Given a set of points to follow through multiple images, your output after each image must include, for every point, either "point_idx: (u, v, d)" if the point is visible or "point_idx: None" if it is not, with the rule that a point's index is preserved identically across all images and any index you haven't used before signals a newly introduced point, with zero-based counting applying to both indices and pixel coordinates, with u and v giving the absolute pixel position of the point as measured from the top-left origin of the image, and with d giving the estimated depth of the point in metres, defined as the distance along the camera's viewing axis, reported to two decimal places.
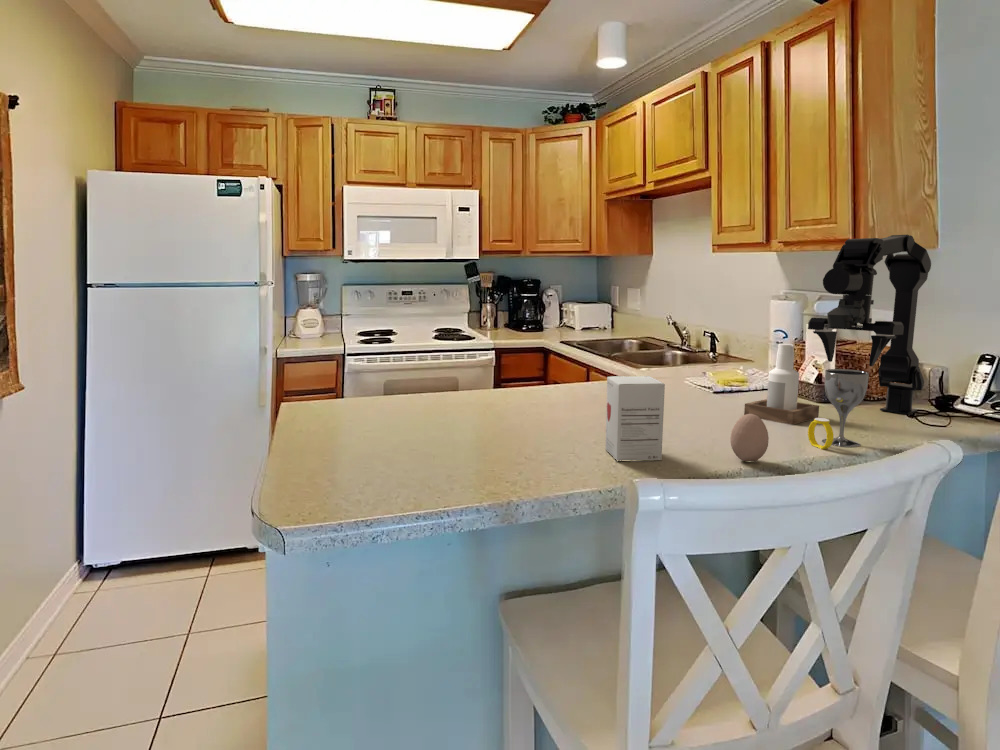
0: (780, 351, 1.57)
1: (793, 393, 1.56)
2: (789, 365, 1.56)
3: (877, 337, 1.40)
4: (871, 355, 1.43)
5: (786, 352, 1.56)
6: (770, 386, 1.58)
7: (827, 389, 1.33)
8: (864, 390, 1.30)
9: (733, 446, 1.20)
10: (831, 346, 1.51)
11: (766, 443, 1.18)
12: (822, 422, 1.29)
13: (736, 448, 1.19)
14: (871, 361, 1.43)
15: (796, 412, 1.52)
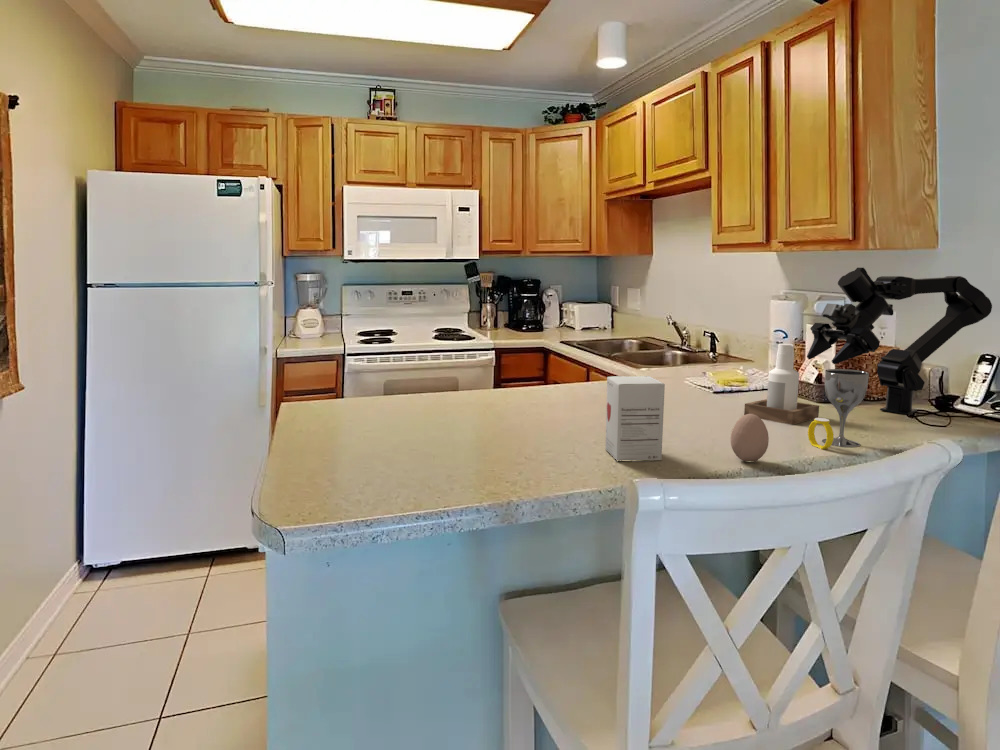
0: (780, 351, 1.57)
1: (793, 393, 1.56)
2: (789, 365, 1.56)
3: (850, 335, 1.53)
4: (838, 352, 1.55)
5: (786, 352, 1.56)
6: (770, 386, 1.58)
7: (827, 389, 1.33)
8: (864, 390, 1.30)
9: (733, 446, 1.20)
10: (818, 349, 1.64)
11: (766, 443, 1.18)
12: (822, 422, 1.29)
13: (736, 448, 1.19)
14: (835, 357, 1.55)
15: (796, 412, 1.52)
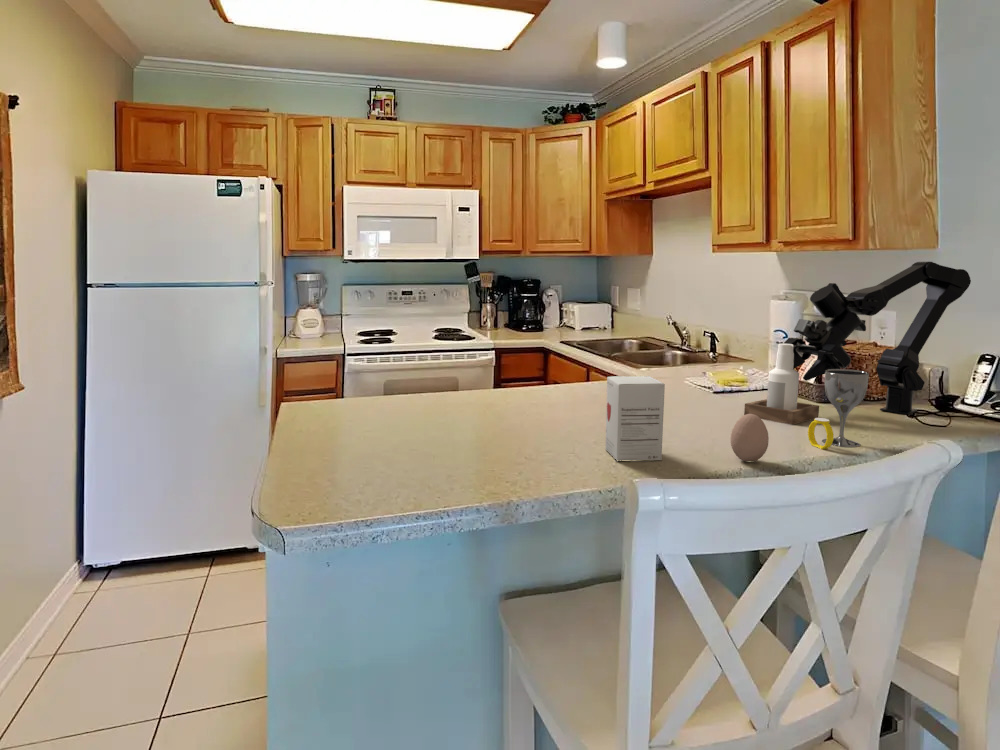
0: (780, 351, 1.57)
1: (793, 393, 1.56)
2: (789, 365, 1.56)
3: (821, 352, 1.52)
4: (809, 369, 1.54)
5: (786, 352, 1.56)
6: (770, 386, 1.58)
7: (827, 389, 1.33)
8: (864, 390, 1.30)
9: (733, 446, 1.20)
10: None
11: (766, 443, 1.18)
12: (822, 422, 1.29)
13: (736, 448, 1.19)
14: (806, 374, 1.54)
15: (796, 412, 1.52)
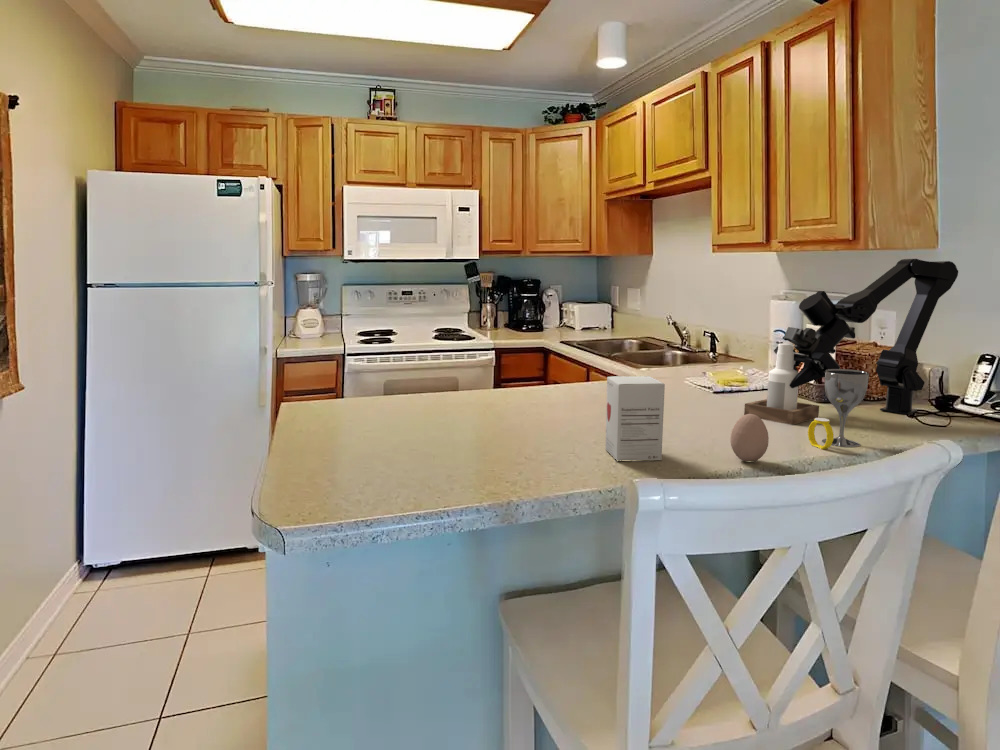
0: (780, 351, 1.57)
1: (793, 393, 1.56)
2: (789, 365, 1.56)
3: (807, 360, 1.53)
4: (796, 376, 1.55)
5: (786, 352, 1.56)
6: (770, 386, 1.58)
7: (827, 389, 1.33)
8: (864, 390, 1.30)
9: (733, 446, 1.20)
10: None
11: (766, 443, 1.18)
12: (822, 422, 1.29)
13: (736, 448, 1.19)
14: (792, 381, 1.55)
15: (796, 412, 1.52)
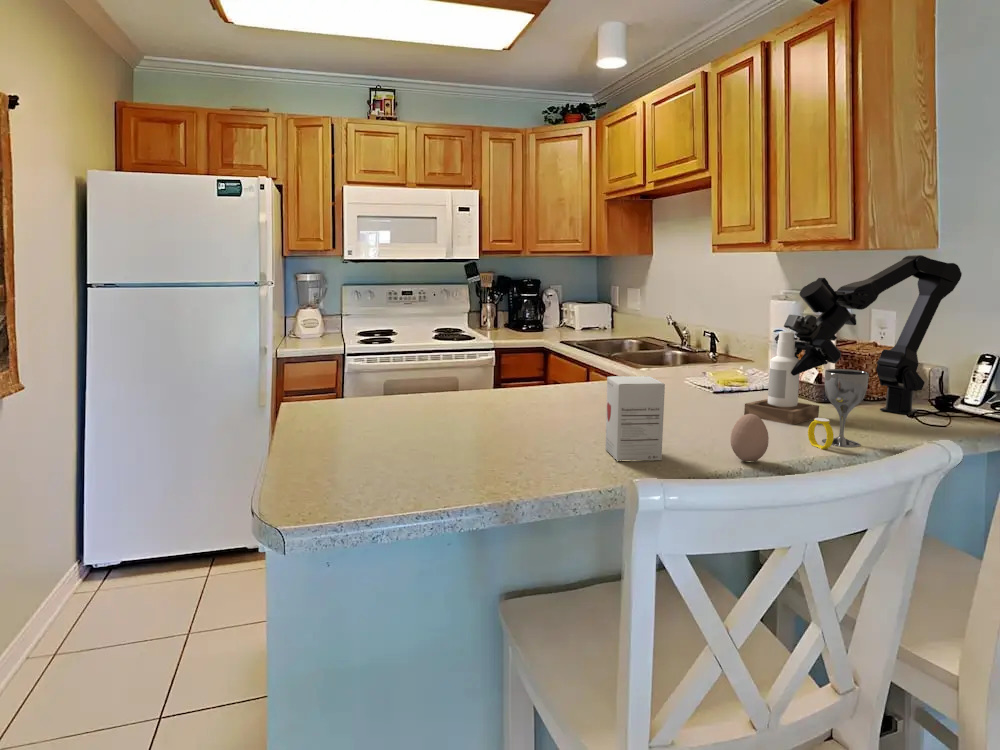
0: (781, 338, 1.56)
1: (795, 381, 1.55)
2: (790, 352, 1.55)
3: (809, 347, 1.52)
4: (797, 364, 1.54)
5: (787, 339, 1.55)
6: (771, 374, 1.58)
7: (827, 389, 1.33)
8: (864, 390, 1.30)
9: (733, 446, 1.20)
10: None
11: (766, 443, 1.18)
12: (822, 422, 1.29)
13: (736, 448, 1.19)
14: (794, 369, 1.54)
15: (796, 412, 1.52)
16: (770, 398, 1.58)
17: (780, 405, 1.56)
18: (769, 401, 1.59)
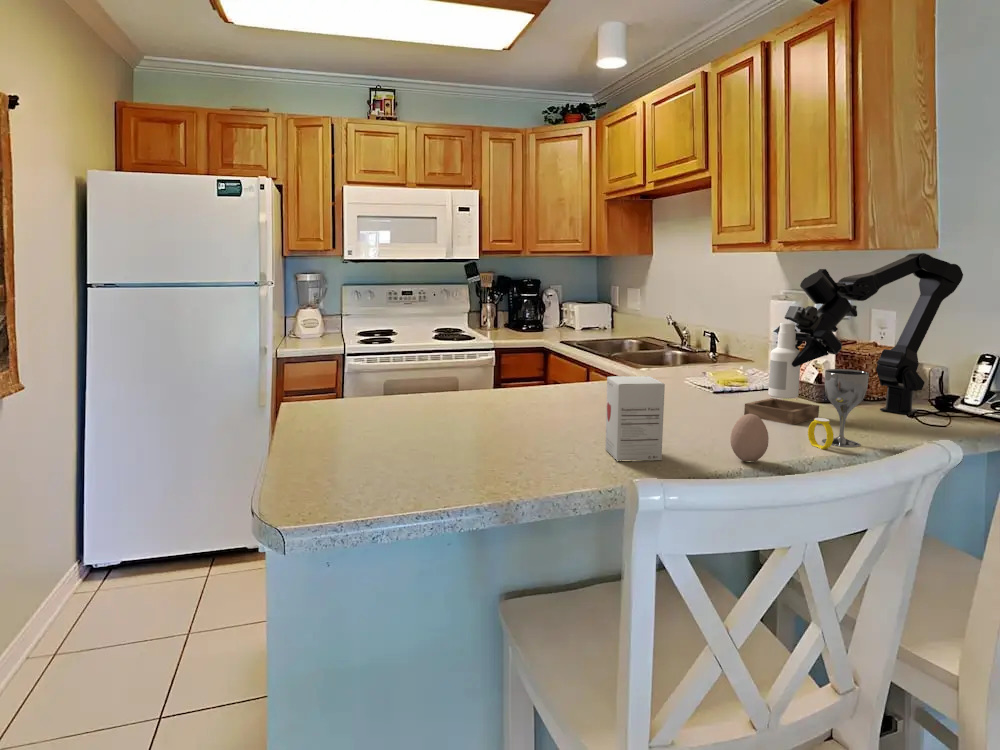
0: (782, 330, 1.56)
1: (795, 372, 1.55)
2: (791, 344, 1.55)
3: (809, 338, 1.52)
4: (798, 355, 1.54)
5: (788, 331, 1.55)
6: (772, 365, 1.57)
7: (827, 389, 1.33)
8: (864, 390, 1.30)
9: (733, 446, 1.20)
10: None
11: (766, 443, 1.18)
12: (822, 422, 1.29)
13: (736, 448, 1.19)
14: (794, 360, 1.54)
15: (796, 412, 1.52)
16: (771, 390, 1.58)
17: (781, 396, 1.56)
18: (770, 393, 1.59)
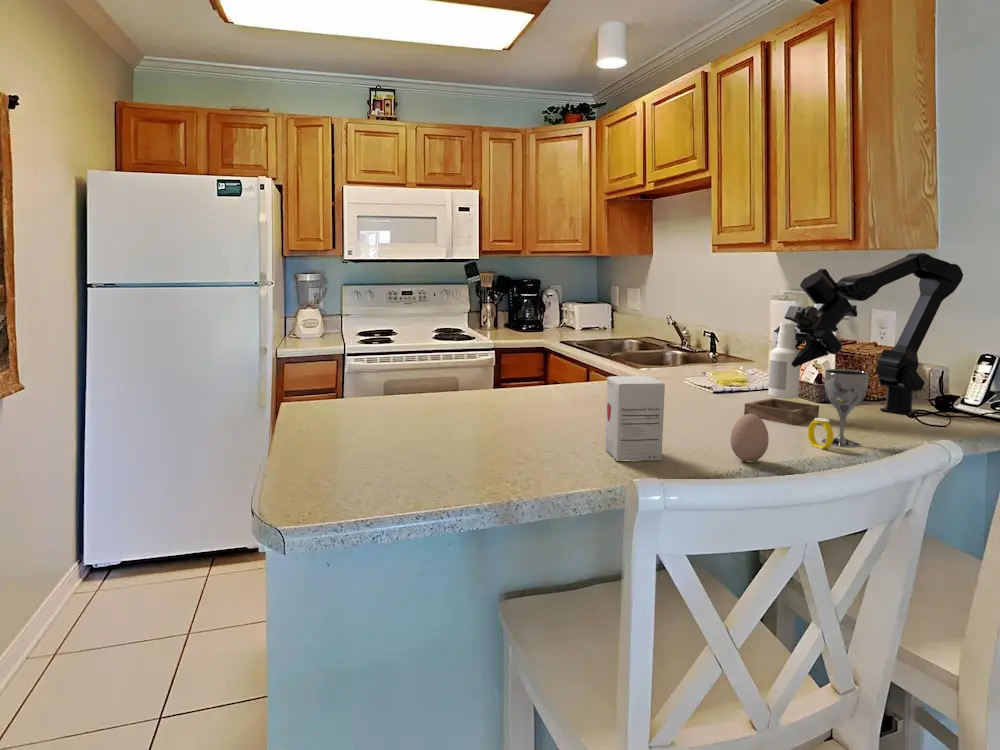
0: (782, 330, 1.56)
1: (795, 372, 1.55)
2: (791, 344, 1.55)
3: (809, 338, 1.52)
4: (798, 355, 1.54)
5: (788, 331, 1.55)
6: (772, 365, 1.57)
7: (827, 389, 1.33)
8: (864, 390, 1.30)
9: (733, 446, 1.20)
10: None
11: (766, 443, 1.18)
12: (822, 422, 1.29)
13: (736, 448, 1.19)
14: (794, 360, 1.54)
15: (796, 412, 1.52)
16: (771, 390, 1.58)
17: (781, 396, 1.56)
18: (770, 393, 1.59)
